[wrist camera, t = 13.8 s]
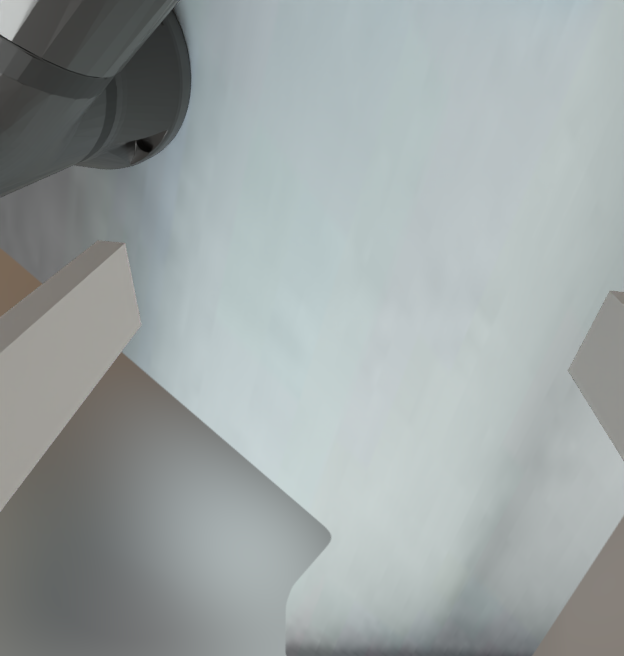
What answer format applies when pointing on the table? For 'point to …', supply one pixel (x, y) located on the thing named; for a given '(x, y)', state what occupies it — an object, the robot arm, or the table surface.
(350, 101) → the table surface
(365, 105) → the table surface
